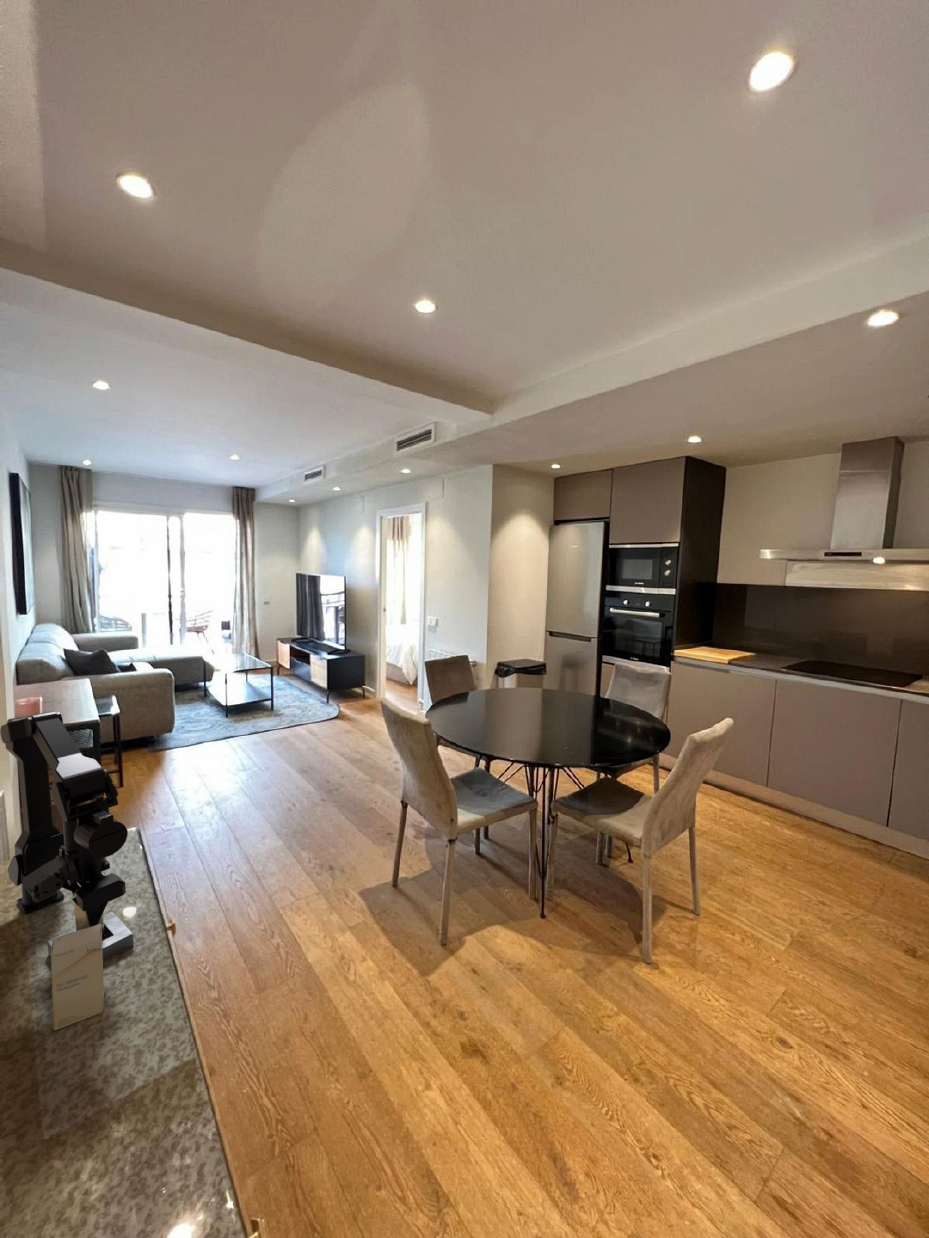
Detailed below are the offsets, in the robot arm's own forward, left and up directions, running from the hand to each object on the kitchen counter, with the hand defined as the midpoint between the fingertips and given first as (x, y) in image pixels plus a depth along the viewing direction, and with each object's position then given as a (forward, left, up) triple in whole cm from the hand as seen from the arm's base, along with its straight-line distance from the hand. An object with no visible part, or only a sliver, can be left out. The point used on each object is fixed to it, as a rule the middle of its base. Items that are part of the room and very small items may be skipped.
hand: (89, 920), depth 90 cm
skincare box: (+14, -6, -6) cm, 16 cm away
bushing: (0, 0, -3) cm, 3 cm away
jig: (0, 0, -6) cm, 6 cm away
